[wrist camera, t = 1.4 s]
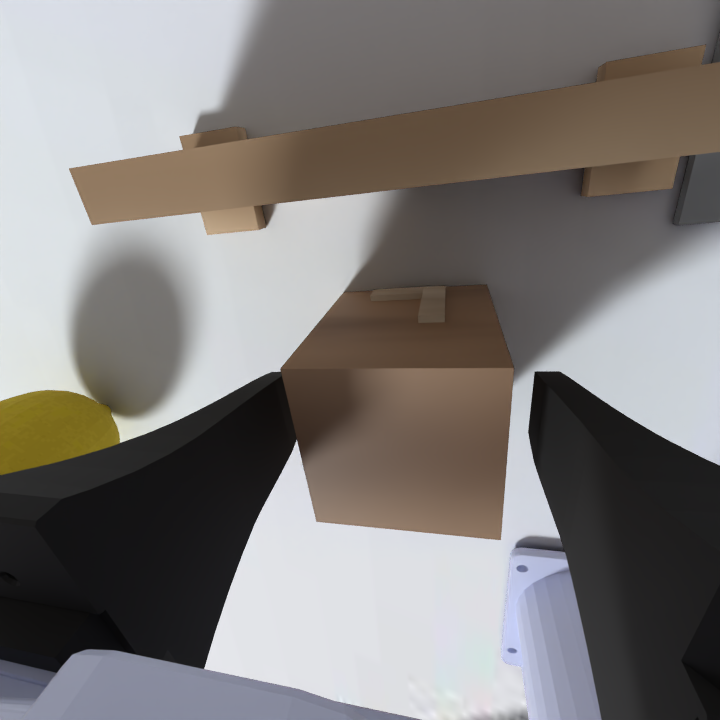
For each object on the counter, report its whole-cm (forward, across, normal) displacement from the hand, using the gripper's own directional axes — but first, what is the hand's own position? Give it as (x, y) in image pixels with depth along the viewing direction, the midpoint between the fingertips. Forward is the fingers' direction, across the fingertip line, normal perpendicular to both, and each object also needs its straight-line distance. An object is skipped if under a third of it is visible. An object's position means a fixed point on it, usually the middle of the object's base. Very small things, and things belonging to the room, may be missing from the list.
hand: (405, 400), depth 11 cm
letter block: (+3, 0, 0) cm, 4 cm away
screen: (+3, 0, -6) cm, 7 cm away
